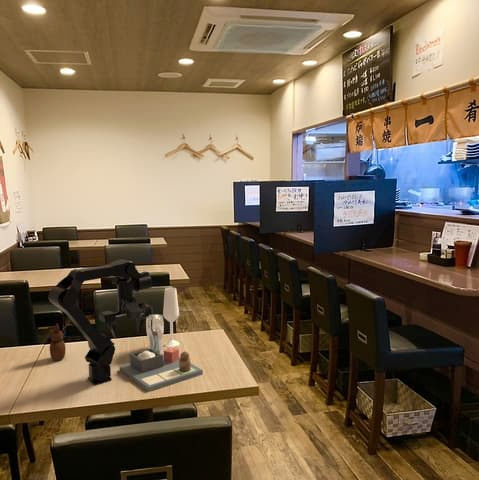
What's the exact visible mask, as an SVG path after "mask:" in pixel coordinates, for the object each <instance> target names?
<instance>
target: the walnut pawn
mask: <svg viewBox="0 0 479 480" xmlns="http://www.w3.org/2000/svg"><path fill="white" fill-rule="evenodd" d="M179 357H180V359H179V370H180V371H181V372H188V371H190V370H191V366H190V363H191V358H190V354H189V353H188V352H187V351H181V353H180V354H179Z"/></svg>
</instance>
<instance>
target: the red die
mask: <svg viewBox="0 0 479 480" xmlns="http://www.w3.org/2000/svg"><path fill="white" fill-rule="evenodd" d="M179 351H180V350H179V349H178V348H175V347H169V348H168V347H167V348H166V349H163V354H164V361H167V362H170V363H173V362H175V361H177V360H179V357H180V352H179Z"/></svg>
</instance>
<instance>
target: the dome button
mask: <svg viewBox="0 0 479 480" xmlns="http://www.w3.org/2000/svg"><path fill="white" fill-rule="evenodd" d="M151 357H155V354H154V353H152V352H149V351H144V352H142V353H140V354H138V358H140V359H141V360H144V359H148V358H151Z"/></svg>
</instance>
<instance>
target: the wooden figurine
mask: <svg viewBox="0 0 479 480" xmlns="http://www.w3.org/2000/svg"><path fill="white" fill-rule="evenodd" d="M63 339H64V333H63V331H62V330H60V326H59V323H58V322H57V323H55V325H54V327H53V331H51V334H50V340H51V342H50V344H49V354H50V358H51V359H52V360H53V361H63V359H64V358H65V356H66V343H65V341H64V340H63Z"/></svg>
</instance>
